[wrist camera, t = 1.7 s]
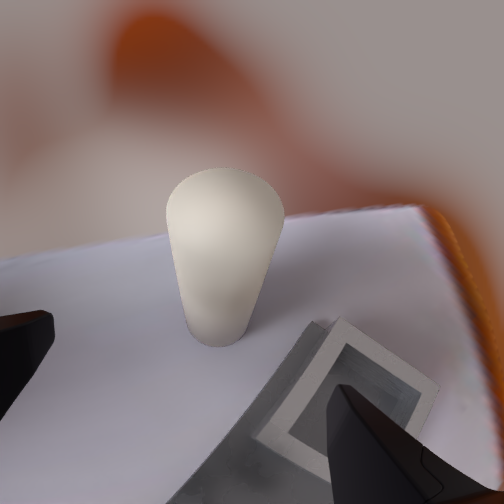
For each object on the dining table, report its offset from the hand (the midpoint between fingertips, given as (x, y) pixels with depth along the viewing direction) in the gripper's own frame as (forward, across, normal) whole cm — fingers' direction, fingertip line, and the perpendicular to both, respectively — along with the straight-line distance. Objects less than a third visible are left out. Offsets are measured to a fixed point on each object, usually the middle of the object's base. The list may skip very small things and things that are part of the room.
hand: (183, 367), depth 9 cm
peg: (+13, 0, +4) cm, 13 cm away
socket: (+5, -7, +12) cm, 15 cm away
